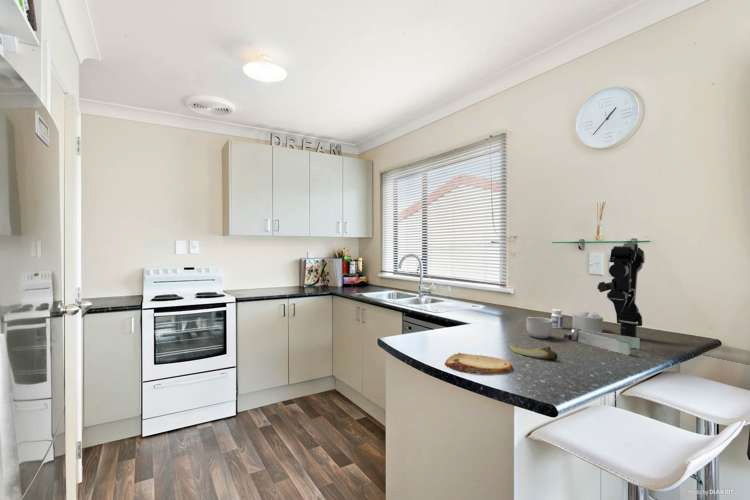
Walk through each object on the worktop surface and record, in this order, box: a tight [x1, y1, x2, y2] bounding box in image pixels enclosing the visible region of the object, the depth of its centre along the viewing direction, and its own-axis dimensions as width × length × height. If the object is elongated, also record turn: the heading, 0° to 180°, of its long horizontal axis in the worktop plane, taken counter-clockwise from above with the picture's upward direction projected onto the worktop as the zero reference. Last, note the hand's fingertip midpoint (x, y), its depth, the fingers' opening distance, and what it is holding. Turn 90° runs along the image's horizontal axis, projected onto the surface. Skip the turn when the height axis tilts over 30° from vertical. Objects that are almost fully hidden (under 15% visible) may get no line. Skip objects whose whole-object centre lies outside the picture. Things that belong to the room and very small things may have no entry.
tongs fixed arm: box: [563, 328, 631, 356], centre depth 145 cm, size 26×4×4 cm, turn 22°
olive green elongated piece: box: [509, 343, 558, 361], centre depth 133 cm, size 20×10×3 cm, turn 37°
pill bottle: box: [550, 308, 564, 329], centre depth 178 cm, size 5×5×9 cm
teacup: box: [525, 316, 553, 339], centre depth 160 cm, size 14×11×8 cm
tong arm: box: [581, 330, 641, 350], centre depth 148 cm, size 20×1×4 cm, turn 52°
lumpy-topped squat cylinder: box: [572, 310, 604, 332], centre depth 174 cm, size 10×13×9 cm
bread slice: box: [444, 352, 514, 375], centre depth 117 cm, size 18×18×4 cm
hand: (621, 313), depth 147 cm, fingers open, 9 cm apart
